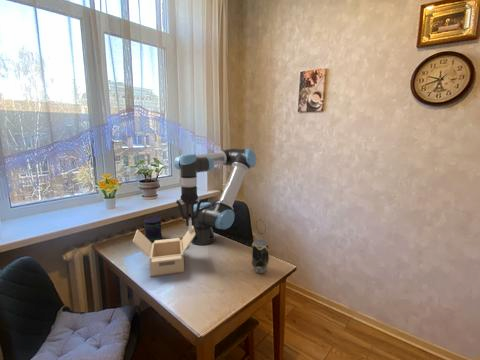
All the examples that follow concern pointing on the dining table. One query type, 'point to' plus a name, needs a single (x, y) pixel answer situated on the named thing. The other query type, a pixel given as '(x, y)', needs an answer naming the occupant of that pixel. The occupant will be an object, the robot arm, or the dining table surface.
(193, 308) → the dining table surface
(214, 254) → the dining table surface
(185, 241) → the flap
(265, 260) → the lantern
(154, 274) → the carton
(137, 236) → the flap
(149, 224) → the dark blue barrel
